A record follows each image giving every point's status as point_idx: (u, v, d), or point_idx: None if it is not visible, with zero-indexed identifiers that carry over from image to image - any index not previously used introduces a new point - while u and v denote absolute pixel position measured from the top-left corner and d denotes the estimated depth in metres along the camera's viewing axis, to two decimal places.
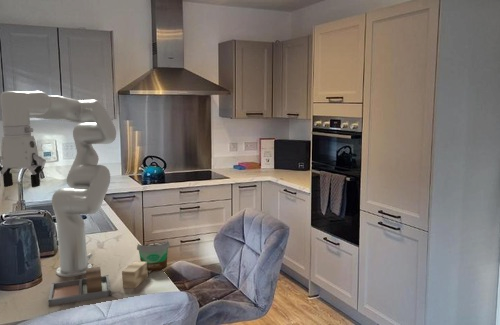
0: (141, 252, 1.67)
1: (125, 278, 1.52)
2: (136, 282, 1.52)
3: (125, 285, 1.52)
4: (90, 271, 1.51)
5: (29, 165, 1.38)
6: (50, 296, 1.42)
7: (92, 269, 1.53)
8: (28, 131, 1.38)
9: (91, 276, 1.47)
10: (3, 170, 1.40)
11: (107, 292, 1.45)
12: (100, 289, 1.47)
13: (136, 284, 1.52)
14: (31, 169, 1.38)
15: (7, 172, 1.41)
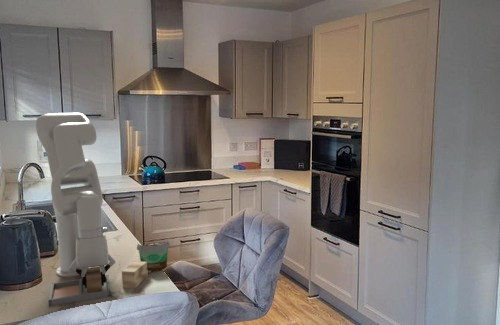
0: (141, 252, 1.67)
1: (125, 278, 1.52)
2: (136, 282, 1.52)
3: (125, 285, 1.52)
4: (90, 271, 1.51)
5: (107, 262, 1.50)
6: (50, 296, 1.42)
7: (92, 269, 1.53)
8: (104, 231, 1.49)
9: (91, 276, 1.47)
10: (83, 272, 1.48)
11: (107, 292, 1.45)
12: (100, 289, 1.47)
13: (136, 284, 1.52)
14: (103, 269, 1.50)
15: (85, 273, 1.49)
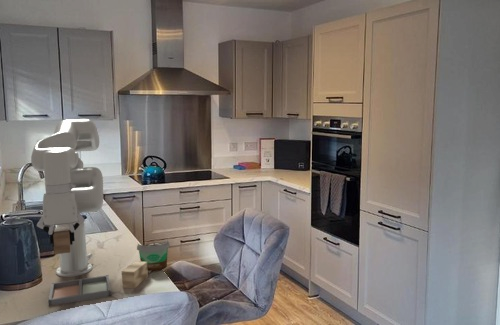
0: (141, 252, 1.67)
1: (125, 278, 1.52)
2: (136, 282, 1.52)
3: (125, 285, 1.52)
4: (58, 230, 1.46)
5: (76, 220, 1.45)
6: (50, 296, 1.42)
7: (61, 228, 1.48)
8: (73, 187, 1.44)
9: (59, 233, 1.42)
10: (50, 230, 1.43)
11: (107, 292, 1.45)
12: (68, 247, 1.42)
13: (136, 284, 1.52)
14: (71, 227, 1.45)
15: (53, 231, 1.44)
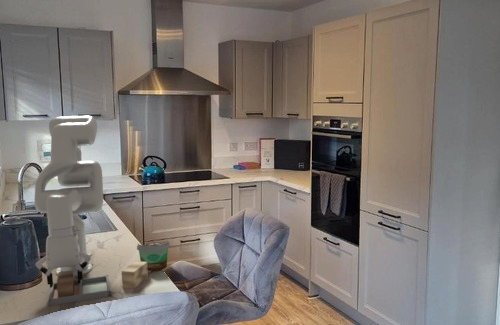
0: (141, 252, 1.67)
1: (125, 278, 1.52)
2: (135, 282, 1.52)
3: (125, 285, 1.52)
4: (61, 275, 1.48)
5: (79, 262, 1.46)
6: (50, 296, 1.42)
7: (65, 272, 1.50)
8: (75, 230, 1.46)
9: (62, 280, 1.44)
10: (48, 271, 1.44)
11: (107, 292, 1.45)
12: (71, 293, 1.44)
13: (135, 284, 1.52)
14: (78, 266, 1.47)
15: (50, 272, 1.45)
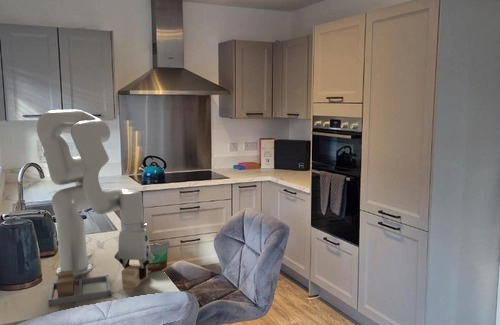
0: None
1: (125, 278, 1.52)
2: (135, 282, 1.52)
3: (125, 284, 1.52)
4: (61, 275, 1.48)
5: (144, 257, 1.53)
6: (50, 296, 1.42)
7: (65, 272, 1.50)
8: (143, 227, 1.53)
9: (62, 280, 1.44)
10: (124, 263, 1.55)
11: (107, 292, 1.45)
12: (71, 293, 1.44)
13: (135, 284, 1.52)
14: (141, 263, 1.54)
15: (127, 264, 1.56)
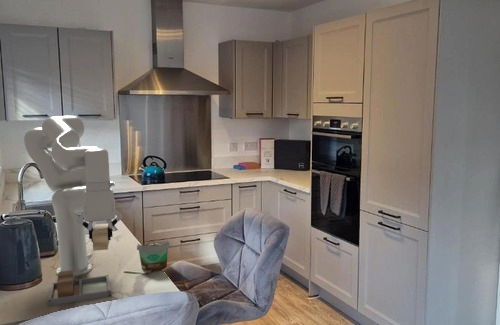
0: (141, 252, 1.67)
1: (96, 240, 1.45)
2: (107, 242, 1.47)
3: (96, 247, 1.45)
4: (61, 275, 1.48)
5: (114, 216, 1.49)
6: (50, 296, 1.42)
7: (65, 272, 1.50)
8: (111, 185, 1.49)
9: (62, 280, 1.44)
10: (90, 226, 1.48)
11: (107, 292, 1.45)
12: (71, 293, 1.44)
13: (107, 244, 1.47)
14: (110, 223, 1.49)
15: None
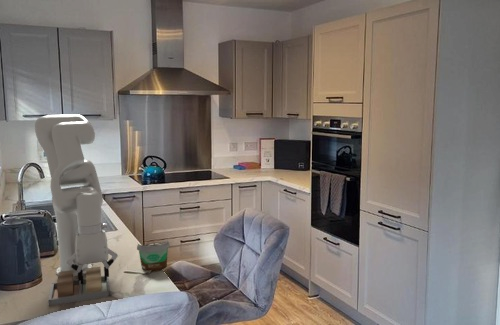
0: (141, 252, 1.67)
1: (90, 285, 1.45)
2: (101, 287, 1.48)
3: (90, 292, 1.46)
4: (61, 275, 1.48)
5: (107, 258, 1.49)
6: (50, 296, 1.42)
7: (65, 272, 1.50)
8: (104, 227, 1.49)
9: (62, 280, 1.44)
10: (79, 268, 1.47)
11: (107, 292, 1.45)
12: (71, 293, 1.44)
13: (101, 289, 1.48)
14: (105, 263, 1.50)
15: (81, 269, 1.49)
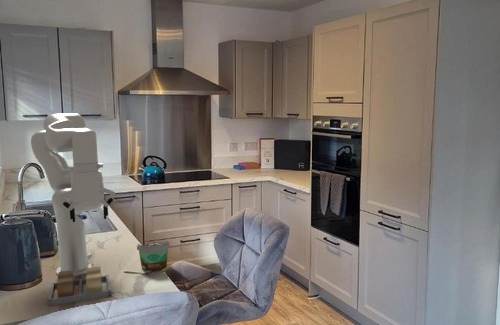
0: (141, 252, 1.67)
1: (90, 285, 1.45)
2: (101, 287, 1.48)
3: (90, 292, 1.46)
4: (61, 275, 1.48)
5: (103, 198, 1.47)
6: (50, 296, 1.42)
7: (65, 272, 1.50)
8: (100, 167, 1.46)
9: (62, 280, 1.44)
10: (72, 206, 1.44)
11: (107, 292, 1.45)
12: (71, 293, 1.44)
13: (101, 289, 1.48)
14: (104, 202, 1.47)
15: None
